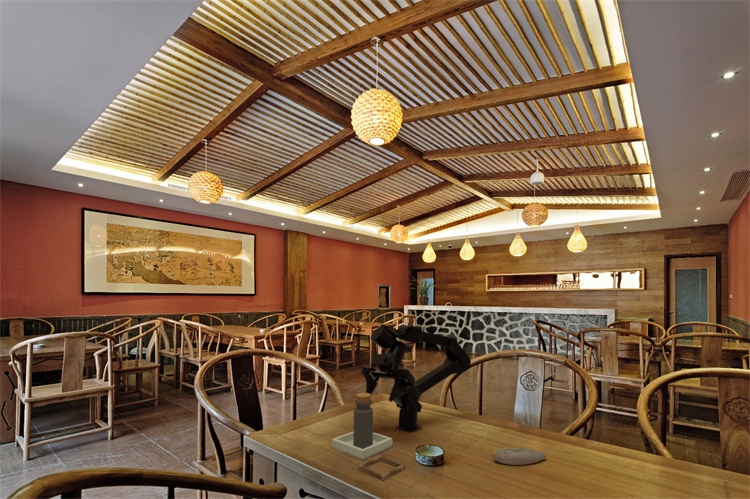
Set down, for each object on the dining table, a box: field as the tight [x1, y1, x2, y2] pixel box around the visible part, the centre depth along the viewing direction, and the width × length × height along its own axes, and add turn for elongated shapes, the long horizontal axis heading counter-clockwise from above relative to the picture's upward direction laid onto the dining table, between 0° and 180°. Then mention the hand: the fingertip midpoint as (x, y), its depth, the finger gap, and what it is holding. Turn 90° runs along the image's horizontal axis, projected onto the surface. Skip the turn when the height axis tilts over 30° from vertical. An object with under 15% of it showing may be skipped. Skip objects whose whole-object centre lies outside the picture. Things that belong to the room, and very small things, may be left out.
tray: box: [331, 430, 393, 461], centre depth 123 cm, size 13×13×2 cm
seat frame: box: [357, 455, 406, 481], centre depth 108 cm, size 9×9×1 cm
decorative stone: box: [492, 447, 547, 466], centre depth 114 cm, size 6×16×3 cm, turn 99°
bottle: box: [353, 392, 374, 449], centre depth 124 cm, size 6×6×15 cm
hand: (378, 399), depth 129 cm, fingers open, 9 cm apart
